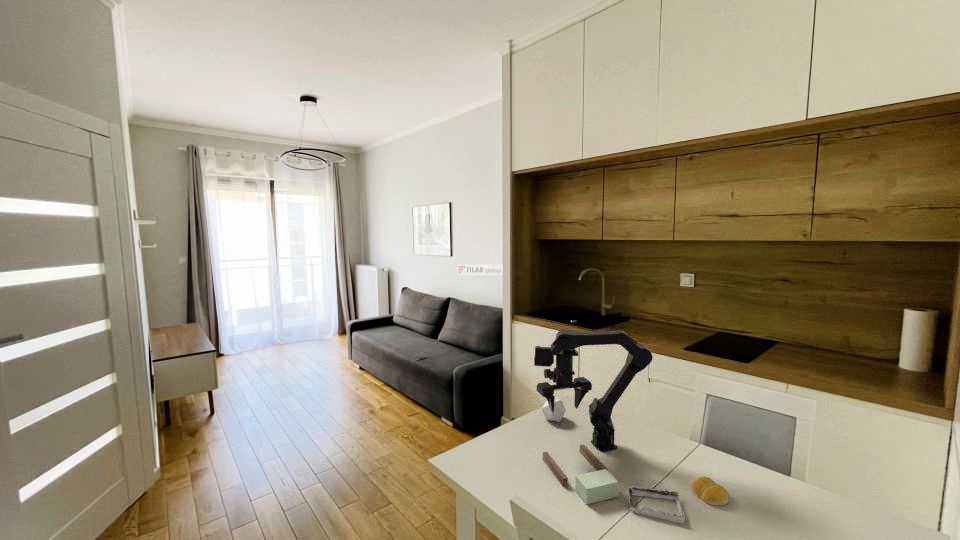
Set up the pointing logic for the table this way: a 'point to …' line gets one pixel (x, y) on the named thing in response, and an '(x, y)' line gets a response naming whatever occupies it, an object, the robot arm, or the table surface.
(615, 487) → the block
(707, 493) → the bread roll
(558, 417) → the die
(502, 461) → the table surface
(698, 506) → the table surface
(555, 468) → the chute rails
